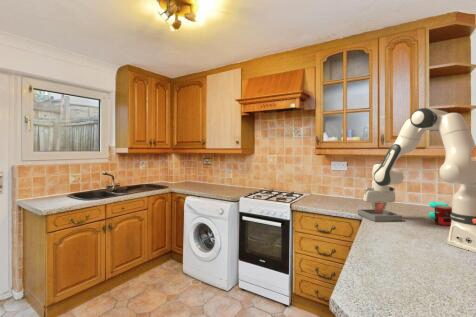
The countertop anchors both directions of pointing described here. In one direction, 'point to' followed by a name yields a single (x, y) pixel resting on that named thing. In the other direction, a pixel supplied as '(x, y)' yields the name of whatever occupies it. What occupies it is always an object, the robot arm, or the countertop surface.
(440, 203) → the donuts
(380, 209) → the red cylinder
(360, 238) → the countertop surface
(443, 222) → the canned food
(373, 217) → the grey bin
